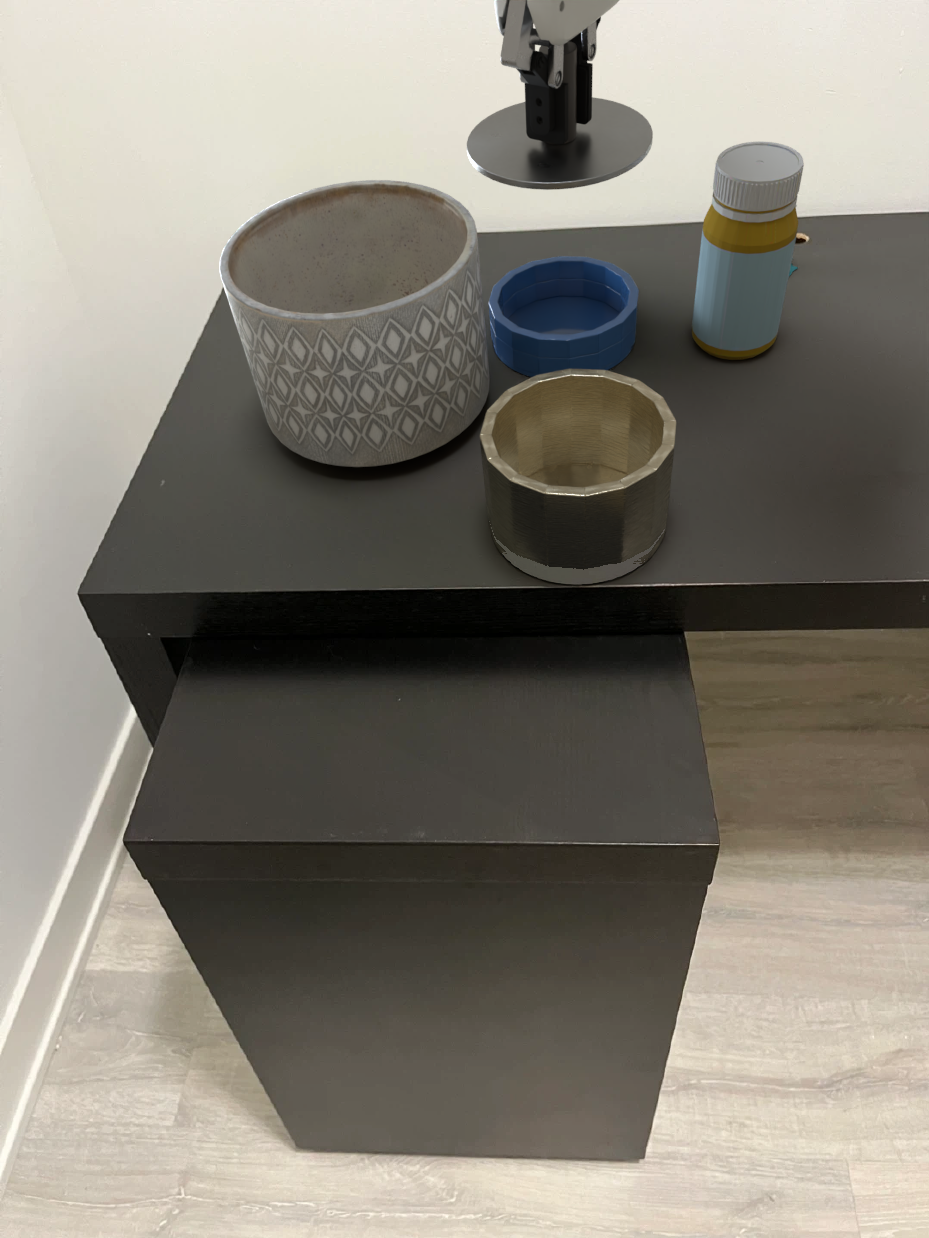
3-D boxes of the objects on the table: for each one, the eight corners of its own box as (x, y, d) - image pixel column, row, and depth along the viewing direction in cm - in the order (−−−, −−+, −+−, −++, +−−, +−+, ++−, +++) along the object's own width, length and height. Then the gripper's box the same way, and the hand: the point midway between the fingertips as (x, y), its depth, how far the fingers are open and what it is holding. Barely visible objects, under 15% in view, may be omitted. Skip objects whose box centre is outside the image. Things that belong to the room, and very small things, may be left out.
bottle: (682, 356, 79) (700, 179, 68) (701, 309, 83) (722, 135, 71) (766, 369, 77) (800, 189, 65) (783, 321, 81) (817, 143, 69)
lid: (683, 129, 71) (692, 23, 65) (595, 214, 64) (598, 105, 59) (527, 99, 76) (524, -1, 71) (432, 175, 70) (420, 72, 64)
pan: (660, 317, 83) (663, 276, 80) (592, 397, 77) (592, 355, 74) (538, 284, 88) (537, 243, 85) (465, 356, 82) (461, 316, 79)
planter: (317, 330, 87) (279, 174, 75) (514, 348, 82) (505, 185, 71) (233, 466, 76) (173, 307, 64) (455, 495, 71) (433, 330, 60)
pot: (695, 495, 69) (708, 400, 62) (613, 611, 63) (618, 521, 56) (546, 442, 74) (543, 350, 67) (456, 545, 68) (443, 455, 61)
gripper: (540, -152, 49) (547, 191, 64) (677, -229, 57) (656, 93, 71) (423, -160, 52) (455, 170, 67) (569, -231, 60) (569, 77, 74)
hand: (559, 127), depth 69 cm, fingers closed on lid, 2 cm apart
